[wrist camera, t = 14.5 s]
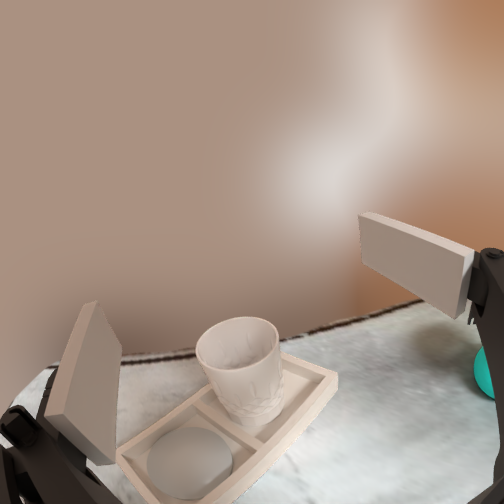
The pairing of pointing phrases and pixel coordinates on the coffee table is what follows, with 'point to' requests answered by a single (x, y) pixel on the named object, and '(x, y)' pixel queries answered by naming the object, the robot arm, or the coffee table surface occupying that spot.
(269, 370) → the white cup
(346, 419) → the coffee table surface
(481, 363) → the donuts
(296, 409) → the tray
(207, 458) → the grey flat disc
